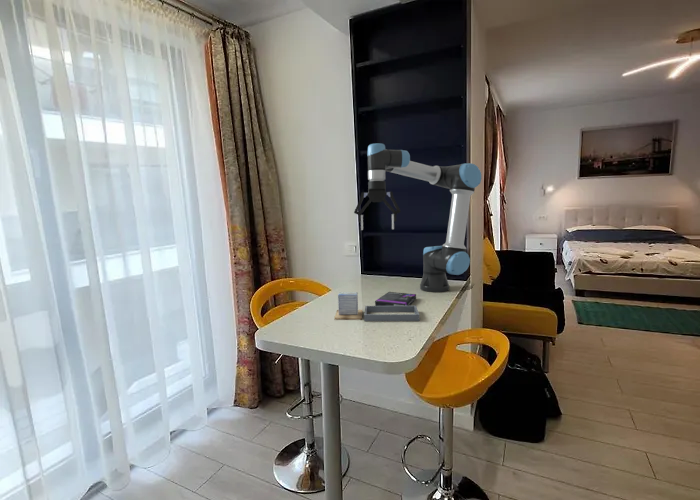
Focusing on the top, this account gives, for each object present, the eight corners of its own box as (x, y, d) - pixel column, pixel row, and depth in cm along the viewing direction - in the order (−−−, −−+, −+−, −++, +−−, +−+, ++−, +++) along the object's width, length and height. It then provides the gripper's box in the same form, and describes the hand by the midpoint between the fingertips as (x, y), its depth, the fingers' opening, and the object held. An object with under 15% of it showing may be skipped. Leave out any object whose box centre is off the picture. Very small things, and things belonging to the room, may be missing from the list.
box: (404, 312, 158) (416, 300, 176) (404, 304, 158) (416, 293, 175) (374, 308, 164) (389, 297, 182) (374, 300, 164) (389, 290, 181)
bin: (415, 311, 156) (415, 305, 156) (419, 321, 143) (419, 314, 143) (365, 311, 157) (365, 305, 157) (364, 321, 145) (364, 314, 144)
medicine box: (358, 311, 154) (357, 291, 153) (357, 315, 150) (357, 294, 149) (339, 312, 155) (339, 292, 154) (338, 315, 150) (337, 294, 149)
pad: (362, 311, 158) (362, 309, 157) (361, 319, 147) (361, 317, 147) (337, 311, 158) (337, 309, 158) (334, 319, 147) (334, 317, 147)
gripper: (405, 180, 161) (405, 228, 164) (348, 182, 163) (350, 229, 166) (406, 179, 154) (406, 229, 156) (347, 181, 156) (348, 230, 158)
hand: (377, 229), depth 161 cm, fingers open, 13 cm apart
